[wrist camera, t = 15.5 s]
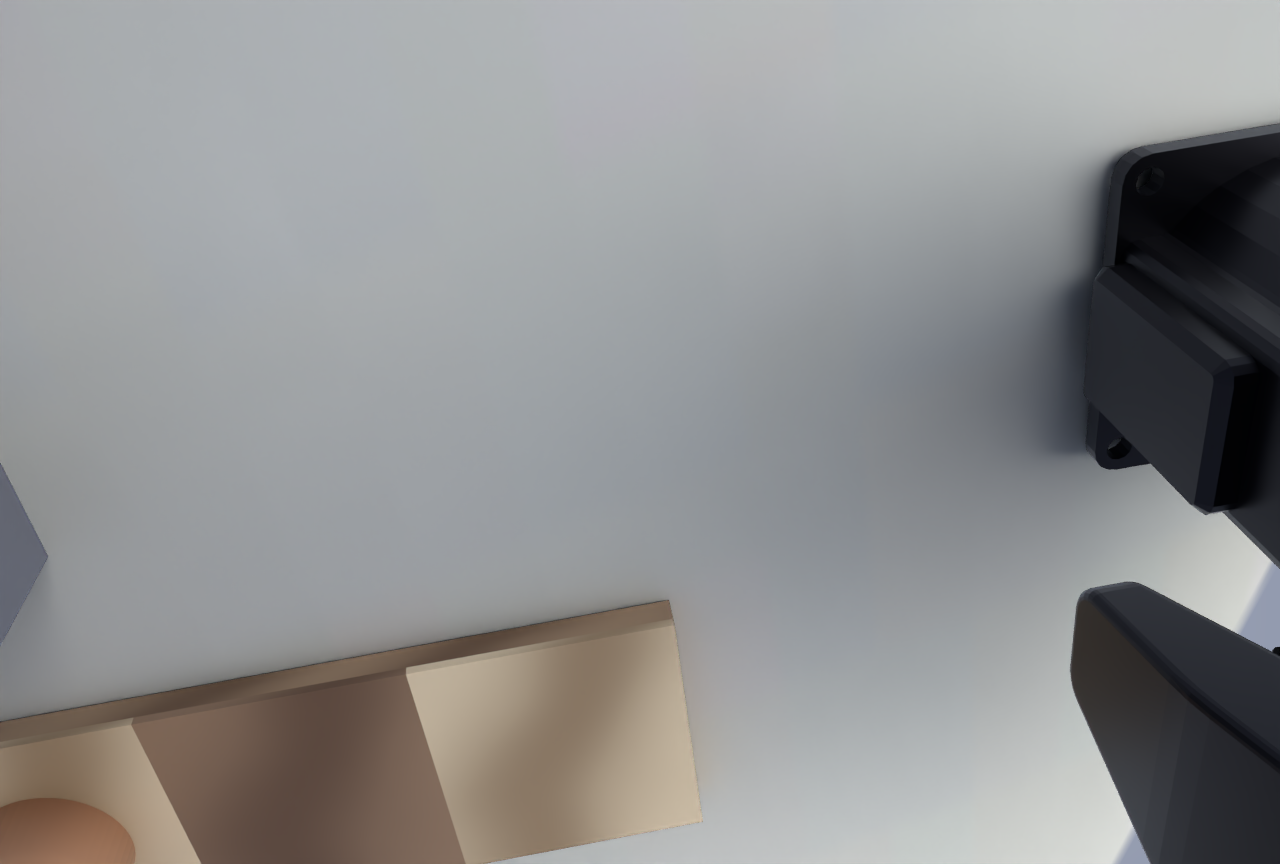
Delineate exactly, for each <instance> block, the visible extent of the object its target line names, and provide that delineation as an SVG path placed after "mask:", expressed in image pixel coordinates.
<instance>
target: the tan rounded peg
mask: <svg viewBox="0 0 1280 864" xmlns="http://www.w3.org/2000/svg"><path fill="white" fill-rule="evenodd" d="M135 857H136V852H135V846H134V843H133V841H132V839H131V837H130V835H129V833H128V832H127V831H126V829H125V828H124V827H123V826H122V825H121V824H120V823H119V822H118V821H116V820H115V819H114V818H113V817H111V816H110V815H108V814H106V813H105V812H103V811H101V810H99V809H97V808H95V807H92V806H89V805H87V804H83V803H80V802H76V801H71V800H66V799H57V798H35V799H27V800H21V801H17V802H14V803H10V804H8V805H5V806H3V807H1V808H0V864H134V863H135Z"/></svg>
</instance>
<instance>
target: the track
mask: <svg viewBox="0 0 1280 864" xmlns="http://www.w3.org/2000/svg"><path fill="white" fill-rule="evenodd" d="M35 798H57V799H66V800H71V801H76V802H80V803H83V804H87V805H89V806H92V807H95V808H97V809H99V810H101V811H103V812H105V813H106V814H108V815H110V816H111V817H113V818H114V819H115V820H116V821H118V822H119V823H120V824H121V825H122V826H123V827H124V828H125V829H126V831H127V832H128V833H129V835H130V837H131V839H132V841H133V843H134V846H135V852H136V857H135V863H134V864H485V863H490V862H495V861H501V860H506V859H511V858H516V857H521V856H527V855H532V854H537V853H542V852H548V851H553V850H558V849H563V848H568V847H574V846H579V845H584V844H589V843H595V842H600V841H605V840H610V839H615V838H621V837H626V836H631V835H636V834H641V833H647V832H652V831H657V830H662V829H668V828H673V827H678V826H683V825H688V824H694V823H699V822H703V820H702V813H701V806H700V799H699V792H698V785H697V778H696V771H695V764H694V757H693V750H692V743H691V736H690V729H689V722H688V715H687V708H686V701H685V694H684V687H683V680H682V673H681V666H680V659H679V652H678V645H677V638H676V631H675V625H674V620H673V616H672V612H671V608H670V603H669V600H667V601H662V602H656V603H651V604H645V605H640V606H634V607H629V608H623V609H618V610H612V611H607V612H601V613H596V614H590V615H585V616H579V617H574V618H568V619H563V620H557V621H552V622H546V623H541V624H535V625H530V626H524V627H519V628H514V629H508V630H503V631H497V632H492V633H486V634H481V635H475V636H470V637H464V638H459V639H453V640H448V641H442V642H437V643H431V644H426V645H420V646H415V647H409V648H404V649H398V650H393V651H387V652H382V653H376V654H371V655H365V656H360V657H354V658H349V659H344V660H338V661H333V662H327V663H322V664H316V665H311V666H305V667H300V668H294V669H289V670H283V671H278V672H272V673H267V674H261V675H256V676H250V677H245V678H239V679H234V680H228V681H223V682H217V683H212V684H206V685H201V686H195V687H190V688H185V689H179V690H174V691H168V692H163V693H157V694H152V695H146V696H141V697H135V698H130V699H124V700H119V701H113V702H108V703H102V704H97V705H91V706H86V707H80V708H75V709H69V710H64V711H58V712H53V713H47V714H42V715H36V716H31V717H25V718H20V719H15V720H9V721H4V722H0V808H1V807H3V806H5V805H8V804H10V803H14V802H17V801H21V800H27V799H35Z"/></svg>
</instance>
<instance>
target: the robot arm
mask: <svg viewBox="0 0 1280 864" xmlns="http://www.w3.org/2000/svg"><path fill="white" fill-rule="evenodd" d="M1151 167H1152V171H1153V173H1152V175H1151V178H1150V180H1149V181H1148V182H1147V183H1146V184H1145V185H1144V186H1142V187H1139V188H1137V189H1136V182H1137V179H1138V176H1139V175H1140V174H1141V173H1142V172H1143V171H1144V170H1146V169H1148V168H1151ZM1083 391H1084V395H1085V397H1086V398H1087V399H1088V400H1089V401H1090V403H1089V413H1088V424H1087V434H1086V448H1087V451H1088V452H1089V454H1090V455H1091V456H1092V457H1093V458H1094V459H1095V461H1096V462H1097V463H1098V464H1099V465H1100V466H1101V467H1103V468H1106V469H1122V468H1127V467H1133V466H1138V465H1144V464H1149V463H1151V464H1152V465H1153V466H1154V467H1155V468H1156V470H1157V471H1158V472H1159V473H1160V474H1161V475H1162V476H1163V477H1164V478H1165V479H1166V480H1167V481H1168V482H1169V483H1170V484H1171V485H1172V486H1173V487H1174V488H1175V489H1176V490H1177V491H1178V492H1179V493H1180V494H1181V495H1182V496H1183V497H1184V498H1185V499H1186V500H1187V501H1188V502H1189V503H1190V504H1191V505H1192V506H1193V507H1195V508H1196V509H1197V510H1199V511H1200V512H1202V513H1203V514H1205V515H1208V514H1214V513H1219V512H1223V513H1224V514H1225V515H1226V516H1227V517H1228V518H1229V519H1230V520H1231V521H1232V522H1233V523H1234V524H1235V525H1236V526H1237V527H1238V528H1239V529H1240V530H1241V531H1242V532H1243V533H1244V534H1245V535H1246V536H1247V537H1248V538H1249V539H1250V540H1251V541H1252V542H1253V543H1254V544H1255V545H1256V546H1257V547H1258V548H1259V549H1260V550H1261V551H1262V552H1263V553H1264V554H1265V555H1266V556H1267V557H1268V558H1269V559H1270V560H1271V561H1272V562H1273V563H1274V564H1275V565H1276V566H1277V567H1278V568H1279V569H1280V124H1274V125H1268V126H1262V127H1256V128H1250V129H1244V130H1238V131H1232V132H1226V133H1220V134H1214V135H1208V136H1202V137H1196V138H1190V139H1184V140H1178V141H1172V142H1166V143H1160V144H1154V145H1148V146H1142V147H1139V148H1136V149H1134V150H1131V151H1129V152H1128V153H1127V154H1126V155H1124V156H1123V157H1122V158H1121V159H1120V160H1119V162H1118V163H1117V165H1116V166H1115V168H1114V170H1113V174H1112V177H1111V185H1110V195H1109V205H1108V216H1107V226H1106V237H1105V247H1104V257H1103V268H1102V269H1101V270H1100V271H1099V273H1098V275H1097V276H1096V278H1095V280H1094V282H1093V291H1092V302H1091V313H1090V324H1089V334H1088V345H1087V356H1086V367H1085V378H1084V389H1083ZM1120 437H1122V438H1121V440H1120V442H1119V443H1118V444H1117V445H1116V446H1115V447H1112V448H1110V449H1108V446H1109V444H1111V443H1112V442H1113V441H1114V440H1115V439H1118V438H1120ZM1070 673H1071V681H1072V686H1073V690H1074V693H1075V696H1076V699H1077V701H1078V704H1079V706H1080V708H1081V710H1082V713H1083V715H1084V717H1085V719H1086V722H1087V724H1088V726H1089V728H1090V731H1091V733H1092V735H1093V737H1094V739H1095V742H1096V744H1097V746H1098V748H1099V751H1100V753H1101V755H1102V757H1103V760H1104V762H1105V764H1106V766H1107V769H1108V771H1109V773H1110V775H1111V778H1112V780H1113V782H1114V784H1115V787H1116V789H1117V791H1118V793H1119V796H1120V798H1121V800H1122V802H1123V805H1124V807H1125V809H1126V811H1127V814H1128V816H1129V818H1130V820H1131V823H1132V825H1133V827H1134V829H1135V831H1136V834H1137V836H1138V838H1139V840H1140V843H1141V845H1142V847H1143V849H1144V851H1145V853H1146V855H1147V858H1148V860H1149V862H1150V864H1280V647H1275V648H1274V649H1273V650H1272V652H1271V651H1269V650H1267V649H1265V648H1263V647H1262V646H1260V645H1258V644H1256V643H1254V642H1252V641H1250V640H1248V639H1246V638H1244V637H1242V636H1240V635H1239V634H1237V633H1235V632H1233V631H1231V630H1229V629H1227V628H1225V627H1223V626H1221V625H1219V624H1217V623H1215V622H1214V621H1212V620H1210V619H1208V618H1206V617H1204V616H1202V615H1200V614H1198V613H1196V612H1194V611H1192V610H1190V609H1189V608H1187V607H1185V606H1183V605H1181V604H1179V603H1177V602H1175V601H1173V600H1171V599H1169V598H1167V597H1165V596H1164V595H1162V594H1160V593H1158V592H1156V591H1154V590H1152V589H1150V588H1148V587H1146V586H1144V585H1142V584H1139V583H1136V582H1122V583H1117V584H1111V585H1106V586H1100V587H1095V588H1090V589H1088V590H1086V591H1084V592H1083V593H1082V594H1081V595H1080V597H1079V599H1078V602H1077V606H1076V615H1075V625H1074V635H1073V645H1072V654H1071V664H1070Z"/></svg>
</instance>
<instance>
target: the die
mask: <svg viewBox="0 0 1280 864" xmlns="http://www.w3.org/2000/svg"><path fill="white" fill-rule="evenodd" d="M47 558H48V555H47V553H46V551H45V549H44V547H43V545H42V543H41V541H40V539H39V537H38V535H37V534H36V532H35V530H34V528H33V526H32V524H31V522H30V520H29V518H28V516H27V514H26V512H25V510H24V508H23V506H22V504H21V502H20V500H19V498H18V496H17V494H16V492H15V490H14V488H13V486H12V485H11V483H10V481H9V479H8V477H7V475H6V473H5V471H4V469H3V467H2V465H1V463H0V645H1V644H2V642H3V640H4V638H5V636H6V634H7V632H8V630H9V629H10V627H11V625H12V623H13V621H14V619H15V617H16V616H17V614H18V612H19V610H20V608H21V606H22V604H23V602H24V601H25V599H26V597H27V595H28V593H29V591H30V589H31V587H32V586H33V584H34V582H35V580H36V578H37V576H38V574H39V573H40V571H41V569H42V567H43V565H44V563H45V561H46V559H47Z"/></svg>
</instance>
